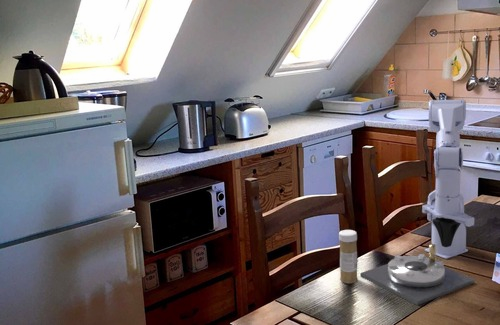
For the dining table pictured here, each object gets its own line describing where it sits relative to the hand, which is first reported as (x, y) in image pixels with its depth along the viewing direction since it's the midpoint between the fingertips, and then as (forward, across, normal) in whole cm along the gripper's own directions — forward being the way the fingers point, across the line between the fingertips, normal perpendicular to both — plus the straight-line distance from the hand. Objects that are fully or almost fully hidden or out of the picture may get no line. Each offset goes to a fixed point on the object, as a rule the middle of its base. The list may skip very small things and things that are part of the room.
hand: (446, 245), depth 138 cm
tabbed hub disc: (+8, -5, -6) cm, 11 cm away
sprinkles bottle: (+10, -14, -20) cm, 26 cm away
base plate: (+9, -4, -6) cm, 12 cm away
